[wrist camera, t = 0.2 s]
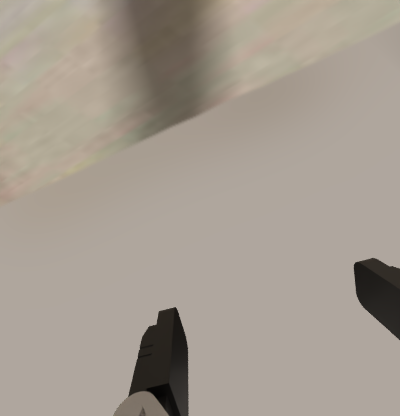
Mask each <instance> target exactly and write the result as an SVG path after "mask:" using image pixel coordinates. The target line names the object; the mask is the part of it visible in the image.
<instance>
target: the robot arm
mask: <svg viewBox="0 0 400 416" xmlns="http://www.w3.org/2000/svg"><path fill="white" fill-rule="evenodd" d="M354 274H355V285H356V294H357V297H358V300H359V302H360V303H361V305H362V306H363V307H364V308H365V309H366V310H367V311H368V312H369V313H370V314H371V315H373V316H374V317H375V318H376V319H377V320H378V321H379V322H380V323H381V324H383V325H384V326H385V327H386V328H387V329H388V330H389V331H390V332H391V333H392V334H394V335H395V336H396V337H397V338H398V339H399V340H400V269H399V268H396V267H393V266H391V267H389V266H388V265H386V264H384V263H383V262H381V261H379V260H377V259H375V258H371V259H368V260H364V261H360V262H356V263H355V264H354ZM113 416H188V347H187V341H186V336H185V332H184V329H183V326H182V323H181V320H180V317H179V313H178V310H177V308H176V307H174V308H170V309H166V310H163V311H159V314H158V319H157V325H153V326H149V327H148V329H147V331H146V332H145V334H144V335H143V337H142V341H141V345H140V350H139V353H138V359H137V362H136V366H135V370H134V375H133V379H132V383H131V387H130V392H129V396H128V398H126V399H125V400H124V401H123V402H122V403H121V404H120V405H119V407H118V408H117V410H116V411H115V413H114V415H113Z"/></svg>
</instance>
